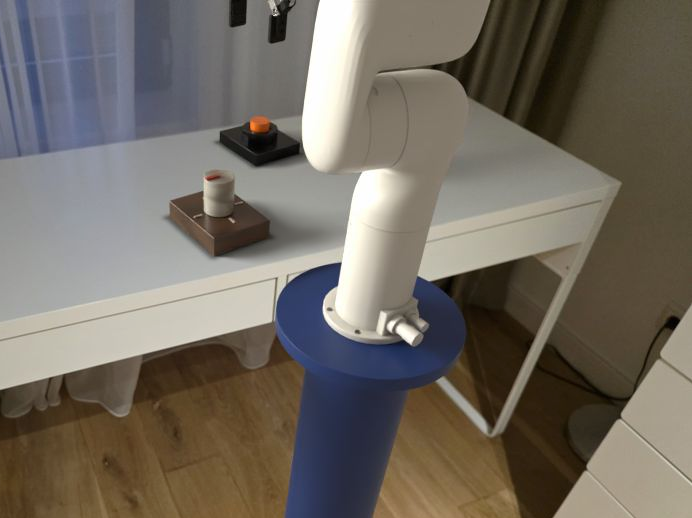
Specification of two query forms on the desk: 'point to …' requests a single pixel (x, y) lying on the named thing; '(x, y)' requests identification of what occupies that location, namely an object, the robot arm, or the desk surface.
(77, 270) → the desk surface
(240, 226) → the panel
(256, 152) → the button box
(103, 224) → the desk surface
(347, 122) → the robot arm
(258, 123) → the button
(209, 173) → the knob
